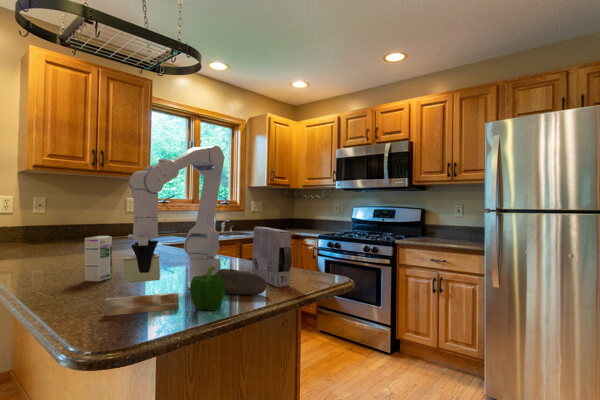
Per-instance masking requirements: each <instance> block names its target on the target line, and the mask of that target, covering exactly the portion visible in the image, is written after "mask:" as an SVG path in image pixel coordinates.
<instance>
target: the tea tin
mask: <svg viewBox="0 0 600 400" xmlns="http://www.w3.org/2000/svg"><path fill="white" fill-rule="evenodd" d="M160 254H161V253H154V254H153V256H152V260H151V266H150V270H149V273H140V272H139V268H138V263H137V258H136V255H128V256H127V255H126V256H125V257H123V259H122V262H123V263H122V264H123V284H124V285H125V284H134V283H143V282H145V283H146V282H152V281H160V279H161V261H160V258H161V257H160V256H161V255H160Z"/></svg>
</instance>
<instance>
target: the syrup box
mask: <svg viewBox="0 0 600 400" xmlns="http://www.w3.org/2000/svg"><path fill="white" fill-rule="evenodd" d="M112 240H113V237H112V236H110V235H97V236H91V237H85V238H84V281H85V282H96V283H97V282H99V283H100V282H102V281H106V280H109V279H112V278H113V241H112Z"/></svg>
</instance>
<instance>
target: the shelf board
mask: <svg viewBox="0 0 600 400" xmlns="http://www.w3.org/2000/svg"><path fill="white" fill-rule="evenodd" d="M179 296H180V295H179V292H168V293H158V294H155V293H154V294H147V295H144V294H143V295H134V296H133V295H132V296H120V297H111V298H105V299H104V317H108V316H110V317H111V316H118V315H120V316H121V315H128V314H139V313H140V314H141V313H149V312H160V311H169V310H178V309H180V308H179V306H180V305H179V302H180V301H179V300H180V299H179Z"/></svg>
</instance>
